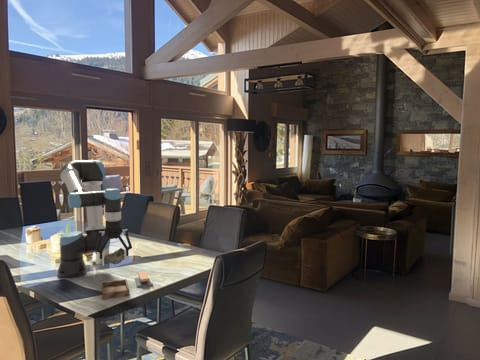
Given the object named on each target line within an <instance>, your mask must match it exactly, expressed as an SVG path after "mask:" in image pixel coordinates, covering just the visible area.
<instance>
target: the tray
mask: <svg viewBox="0 0 480 360" xmlns="http://www.w3.org/2000/svg"><path fill="white" fill-rule="evenodd" d="M100 284H101V285H100V286H101V299H102V300H108V299H115V297H116V298H121V297H120V296H123V297H128V295H130V288H129V284H128V280H127V278H125V279H117V280H109V281H101V282H100Z"/></svg>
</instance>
